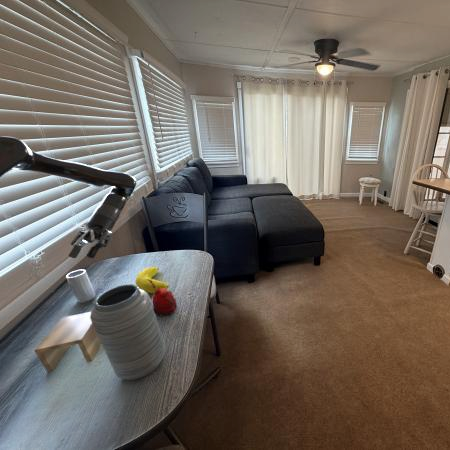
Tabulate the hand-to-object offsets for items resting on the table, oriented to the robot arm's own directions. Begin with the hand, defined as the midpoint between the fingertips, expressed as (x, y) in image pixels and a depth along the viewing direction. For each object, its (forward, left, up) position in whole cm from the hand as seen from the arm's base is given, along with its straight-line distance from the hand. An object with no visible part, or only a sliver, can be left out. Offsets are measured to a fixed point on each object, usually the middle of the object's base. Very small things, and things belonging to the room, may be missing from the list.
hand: (80, 257), depth 83 cm
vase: (+24, -36, -19) cm, 47 cm away
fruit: (+17, +5, -19) cm, 26 cm away
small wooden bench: (+5, -24, -19) cm, 31 cm away
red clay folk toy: (+26, -15, -19) cm, 35 cm away
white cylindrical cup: (-5, +4, -19) cm, 20 cm away
